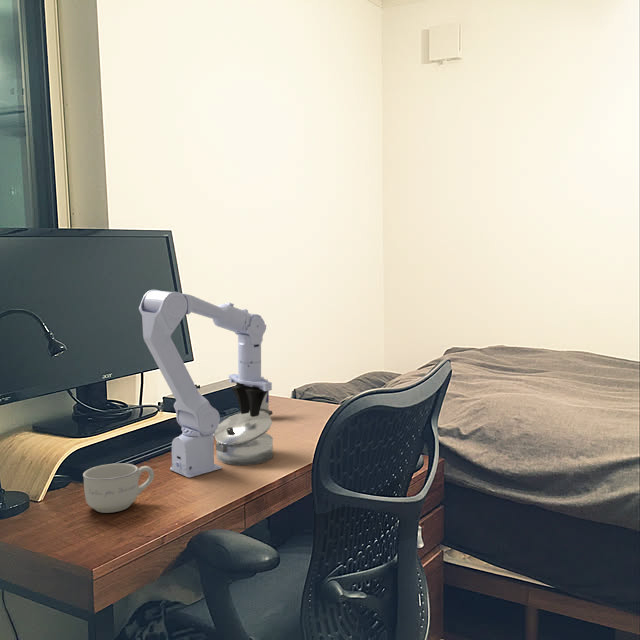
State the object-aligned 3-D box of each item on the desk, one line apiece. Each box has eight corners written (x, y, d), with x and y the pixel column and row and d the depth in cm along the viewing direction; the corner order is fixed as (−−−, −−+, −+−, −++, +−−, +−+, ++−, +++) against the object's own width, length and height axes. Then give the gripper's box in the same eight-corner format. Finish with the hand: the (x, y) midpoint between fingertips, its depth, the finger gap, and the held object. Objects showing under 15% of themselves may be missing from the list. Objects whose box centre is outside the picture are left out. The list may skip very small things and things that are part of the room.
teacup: (82, 520, 135) (81, 480, 134) (85, 500, 145) (83, 463, 144) (156, 513, 139) (155, 474, 138) (153, 494, 149) (152, 457, 148)
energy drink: (270, 417, 213) (270, 378, 212) (267, 421, 208) (266, 382, 207) (252, 416, 214) (252, 378, 212) (249, 421, 209) (249, 381, 207)
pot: (237, 470, 165) (237, 451, 164) (202, 456, 175) (202, 439, 174) (284, 456, 175) (284, 439, 175) (248, 444, 185) (248, 428, 184)
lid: (240, 450, 164) (237, 442, 164) (203, 437, 175) (201, 430, 174) (286, 418, 174) (284, 410, 173) (249, 407, 184) (247, 400, 184)
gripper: (281, 363, 171) (281, 417, 173) (243, 355, 181) (244, 406, 183) (259, 366, 166) (259, 422, 168) (222, 359, 176) (222, 411, 178)
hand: (249, 414), depth 175 cm, fingers open, 3 cm apart
